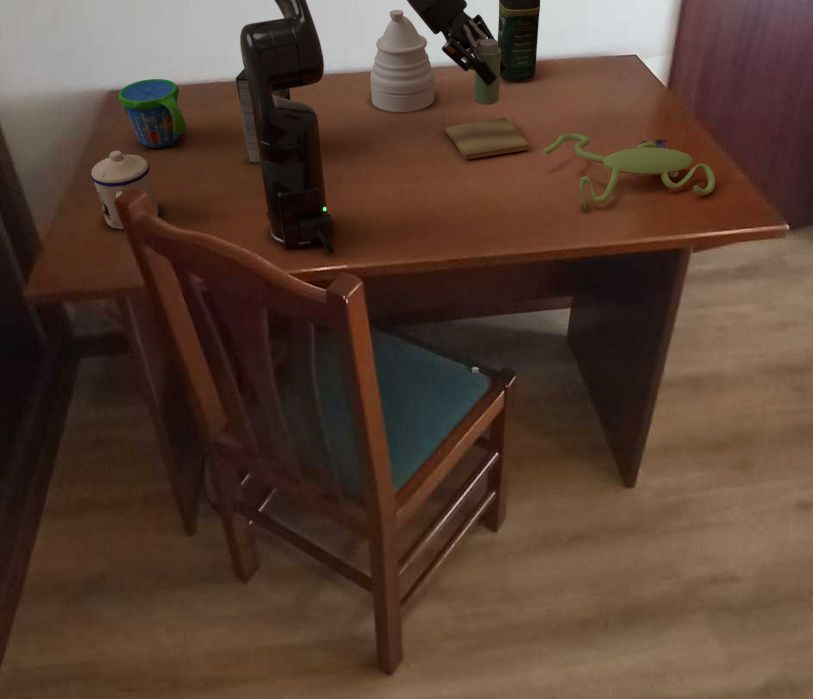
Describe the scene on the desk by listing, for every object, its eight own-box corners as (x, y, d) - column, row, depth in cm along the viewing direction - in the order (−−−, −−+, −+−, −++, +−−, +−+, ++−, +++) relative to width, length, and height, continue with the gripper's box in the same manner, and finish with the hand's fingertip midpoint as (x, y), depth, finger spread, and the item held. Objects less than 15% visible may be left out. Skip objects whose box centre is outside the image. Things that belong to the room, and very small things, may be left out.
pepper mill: (502, 102, 155) (505, 44, 148) (479, 106, 154) (480, 48, 147) (493, 93, 158) (496, 36, 151) (471, 96, 157) (472, 39, 150)
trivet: (528, 151, 158) (529, 144, 157) (465, 161, 155) (465, 154, 154) (505, 124, 167) (505, 117, 166) (445, 133, 164) (445, 126, 163)
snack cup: (114, 137, 167) (101, 86, 161) (161, 119, 173) (150, 70, 166) (157, 163, 159) (145, 110, 152) (206, 143, 164) (196, 92, 158)
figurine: (536, 161, 155) (538, 132, 151) (680, 146, 157) (685, 117, 154) (566, 213, 140) (569, 183, 137) (723, 196, 143) (730, 166, 139)
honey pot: (423, 115, 171) (421, 22, 159) (362, 108, 174) (356, 17, 163) (442, 89, 180) (441, 0, 169) (383, 83, 183) (379, -5, 172)
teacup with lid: (107, 206, 147) (88, 143, 140) (161, 200, 148) (146, 137, 141) (100, 244, 138) (80, 178, 130) (158, 237, 139) (142, 171, 132)
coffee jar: (539, 81, 181) (545, -10, 170) (502, 84, 181) (505, -8, 169) (528, 64, 189) (534, -25, 177) (492, 67, 188) (496, -23, 176)
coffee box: (264, 140, 165) (252, 56, 154) (297, 142, 163) (286, 58, 153) (248, 162, 158) (234, 77, 147) (281, 165, 157) (270, 79, 146)
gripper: (436, -1, 156) (497, 74, 160) (403, 26, 146) (468, 105, 150) (464, -29, 151) (526, 49, 155) (431, -3, 141) (499, 79, 145)
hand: (497, 76), depth 152 cm, fingers closed on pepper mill, 4 cm apart
